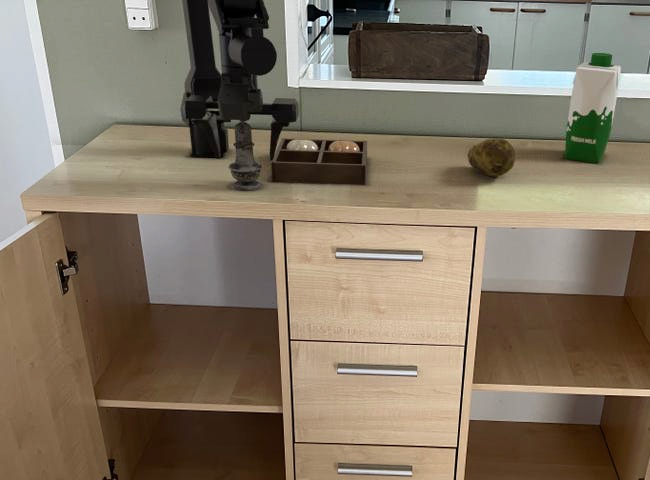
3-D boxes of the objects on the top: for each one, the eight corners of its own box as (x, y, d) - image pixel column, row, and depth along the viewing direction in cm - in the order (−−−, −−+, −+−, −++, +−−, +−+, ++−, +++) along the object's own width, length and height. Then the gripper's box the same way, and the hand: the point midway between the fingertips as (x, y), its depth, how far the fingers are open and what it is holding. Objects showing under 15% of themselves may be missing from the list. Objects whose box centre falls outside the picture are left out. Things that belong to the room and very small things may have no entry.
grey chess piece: (267, 182, 137) (263, 114, 131) (258, 192, 132) (254, 122, 126) (235, 180, 137) (230, 112, 131) (225, 190, 132) (219, 119, 126)
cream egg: (284, 165, 146) (284, 142, 144) (287, 159, 150) (286, 136, 148) (318, 166, 147) (317, 143, 144) (319, 160, 150) (319, 137, 148)
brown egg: (327, 166, 147) (326, 143, 144) (328, 160, 150) (328, 137, 148) (360, 167, 147) (360, 145, 145) (360, 161, 151) (360, 139, 148)
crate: (272, 181, 137) (271, 162, 136) (282, 155, 152) (281, 138, 150) (365, 184, 138) (365, 165, 136) (366, 158, 153) (367, 140, 151)
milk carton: (608, 154, 162) (626, 55, 152) (601, 165, 154) (619, 61, 144) (567, 149, 164) (582, 50, 154) (559, 159, 157) (574, 56, 147)
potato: (507, 168, 150) (512, 127, 146) (514, 188, 139) (519, 144, 135) (465, 166, 150) (469, 125, 146) (469, 186, 139) (473, 142, 135)
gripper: (169, 71, 117) (180, 171, 125) (290, 75, 118) (294, 174, 126) (185, 59, 127) (195, 152, 135) (297, 63, 127) (300, 156, 135)
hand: (245, 159), depth 132 cm, fingers open, 9 cm apart
